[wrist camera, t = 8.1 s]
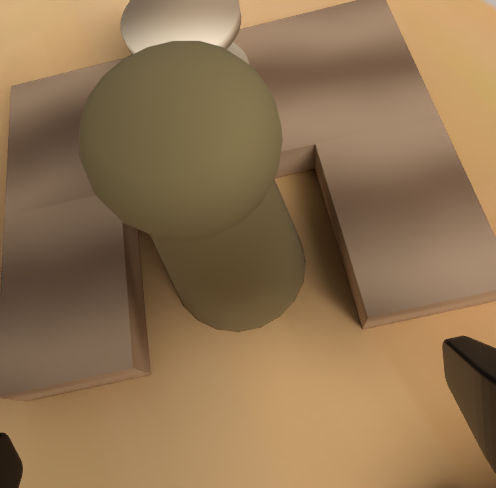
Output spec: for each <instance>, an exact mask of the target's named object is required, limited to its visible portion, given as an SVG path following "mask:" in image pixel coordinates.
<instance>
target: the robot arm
mask: <svg viewBox="0 0 496 488" xmlns="http://www.w3.org/2000/svg"><path fill="white" fill-rule="evenodd" d="M442 349H443V360H444V371H445V378H446V381H447V384H448V386H449V389H450V390H451V392H452V394H453V396H454V398H455V400H456V402H457V404H458V406H459V408H460V410H461V412H462V414H463V416H464V418H465V420H466V421H467V423H468V425H469V427H470V429H471V431H472V433H473V435H474V437H475V439H476V441H477V443H478V445H479V447H480V448H481V450H482V452H483V454H484V456H485V458H486V459H487V461H488V462H489V464H490V466H491V467H492V469H493V470H494V472H495V473H496V348H494V347H492V346H489V345H487V344H484V343H482V342H479V341H477V340H474V339H472V338H469V337H466V336H459V337H454V338H450V339H446V340H444V342H443V345H442ZM22 473H23V465H22V461H21V459H20V457H19V455H18V453H17V451H16V450H15V448H14V446H13V444H12V442H11V440H10V438H9V437H8V435H6V434H5V433H0V488H19V485H20V481H21V478H22Z"/></svg>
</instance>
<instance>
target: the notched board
mask: <svg viewBox="0 0 496 488" xmlns="http://www.w3.org/2000/svg"><path fill="white" fill-rule="evenodd" d="M240 25H241V13H240V7H239V1H238V0H130V2H129V3H128V5H127V6H126V8H125V10H124V12H123V15H122V18H121V33H122V36H123V38H124V41H125V43H126V45H127V47H128V49H129V51H130V53H131V54H132V55H133V54H135V53H137V52H139V51H141V50H143V49H145V48H147V47H150V46H154V45H158V44H163V43H167V42H171V41H202V42H205V43H209V44H213V45H217V46H220V47H223V48H225V49H226V50H228V51H230V52H231V53H233V54H234V55H236V56H237V57H239V58H240V59H242V60H243V61H245V62H246V63H248V64H249V65H250V66H252V67H253V68H254V69H255V70H256V72H257V73H258V74H259V76H260V77H261V78H262V80H263V81H264V83H265V84H266V85H267V87H268V88H269V90H270V92H271V94H272V96H273V98H274V100H275V102H276V106H277V110H278V114H279V118H280V122H281V127H282V139H283V141H282V148H281V155H280V163H279V168H278V171H277V174H276V177H281V176H285V175H289V174H294V173H298V172H302V171H307V170H311V169H315V170H316V173H317V177H318V180H319V184H320V187H321V190H322V194H323V197H324V200H325V204H326V207H327V211H328V214H329V217H330V221H331V224H332V228H333V231H334V234H335V238H336V241H337V244H338V248H339V251H340V255H341V258H342V261H343V265H344V268H345V272H346V275H347V278H348V282H349V285H350V288H351V292H352V295H353V299H354V302H355V305H356V309H357V312H358V316H359V319H360V322H361V326H362V329H367V328H371V327H376V326H381V325H385V324H390V323H395V322H400V321H404V320H409V319H414V318H418V317H423V316H428V315H432V314H437V313H442V312H446V311H451V310H456V309H461V308H465V307H470V306H475V305H479V304H484V303H489V302H493V301H496V237H495V235H494V233H493V231H492V228H491V226H490V224H489V222H488V220H487V218H486V215H485V213H484V211H483V209H482V207H481V205H480V203H479V200H478V198H477V196H476V194H475V192H474V190H473V187H472V185H471V183H470V181H469V179H468V177H467V174H466V172H465V170H464V168H463V166H462V164H461V161H460V159H459V157H458V155H457V153H456V151H455V149H454V146H453V144H452V142H451V140H450V138H449V136H448V133H447V131H446V129H445V127H444V125H443V123H442V120H441V118H440V116H439V114H438V112H437V110H436V108H435V105H434V103H433V101H432V99H431V97H430V95H429V92H428V90H427V88H426V86H425V84H424V82H423V79H422V77H421V75H420V73H419V71H418V69H417V66H416V64H415V62H414V60H413V58H412V56H411V54H410V51H409V49H408V47H407V45H406V43H405V41H404V38H403V36H402V34H401V32H400V30H399V28H398V25H397V23H396V21H395V19H394V17H393V15H392V13H391V10H390V8H389V6H388V4H387V2H386V0H356V1H352V2H348V3H344V4H340V5H336V6H332V7H328V8H324V9H320V10H316V11H312V12H308V13H304V14H300V15H296V16H292V17H288V18H284V19H280V20H276V21H272V22H268V23H264V24H260V25H256V26H252V27H248V28H244V29H240ZM239 29H240V30H239ZM123 59H125V58H123ZM123 59H119V60H115V61H111V62H107V63H103V64H99V65H95V66H91V67H87V68H83V69H79V70H75V71H71V72H67V73H63V74H59V75H55V76H51V77H46V78H42V79H38V80H34V81H30V82H26V83H22V84H18V85H14V86H11V102H10V121H9V140H8V159H7V178H6V198H5V217H4V236H3V255H2V274H1V293H0V398H5V399H13V400H21V401H29V400H33V399H38V398H43V397H47V396H52V395H57V394H61V393H66V392H71V391H76V390H80V389H85V388H90V387H94V386H99V385H104V384H108V383H113V382H118V381H122V380H127V379H132V378H137V377H141V376H146V375H151V374H150V363H149V352H148V340H147V329H146V318H145V307H144V296H143V284H142V273H141V262H140V251H139V239H138V229H136V228H133V227H131V226H129V225H127V224H124V223H123V222H122V221H121V220H120V219H119V218H118V217H117V216H116V215H115V214H114V213H113V212H112V211H111V210H110V209H109V208H108V207H107V206H106V205H105V204H104V203H103V202H102V201H101V200H100V199H99V198H98V197H97V196H96V195H95V194H94V191H93V189H92V187H91V184H90V182H89V180H88V177H87V175H86V173H85V170H84V168H83V165H82V163H81V160H80V157H79V127H80V118H81V115H82V113H83V110H84V107H85V104H86V101H87V98H88V96H89V94H90V93H91V92H92V90H93V89H94V88H95V86H96V85H97V83H98V82H99V81H100V79H101V78H102V77H103V75H105V74H106V73H107V72H108V71H110V70H111V69H112V68H113V67H114V66H116V65H117V64H118V63H119V62H120V61H122V60H123ZM276 177H275V178H276Z"/></svg>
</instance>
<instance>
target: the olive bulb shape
mask: <svg viewBox="0 0 496 488" xmlns="http://www.w3.org/2000/svg"><path fill="white" fill-rule="evenodd" d="M282 141H283V139H282V127H281V122H280V118H279V114H278V110H277V106H276V102H275V100H274V98H273V96H272V94H271V92H270V90H269V88H268V87H267V85H266V84H265V83H264V81H263V80H262V78H261V77H260V76H259V74H258V73H257V72H256V70H255V69H254V68H253V67H252V66H250V65H249V64H248V63H246V62H245V61H243V60H242V59H240V58H239V57H237V56H236V55H234V54H233V53H231V52H230V51H228V50H226V49H225V48H223V47H220V46H217V45H213V44H209V43H205V42H202V41H171V42H167V43H163V44H158V45H154V46H150V47H147V48H145V49H143V50H141V51H139V52H137V53H135V54H133V55H131V56H129V57H127V58H125V59H123V60H122V61H120V62H119V63H118V64H117V65H116V66H114V67H113V68H112V69H111V70H110V71H108V72H107V73H106V74H105V75H103V77H102V78H101V79H100V81H99V82H98V83H97V85H96V86H95V88H94V89H93V90H92V92H91V93H90V94H89V96H88V98H87V101H86V104H85V107H84V110H83V113H82V115H81V118H80V127H79V157H80V160H81V163H82V165H83V168H84V170H85V173H86V175H87V177H88V180H89V182H90V184H91V187H92V189H93V191H94V194H95V195H96V196H97V197H98V198H99V199H100V200H101V201H102V202H103V203H104V204H105V205H106V206H107V207H108V208H109V209H110V210H111V211H112V212H113V213H114V214H115V215H116V216H117V217H118V218H119V219H120V220H121V221H122V222H123V223H124V224H127V225H129V226H131V227H133V228H136V229H138V230H140V231H143V232H145V233H147V234H150V236H151V238H152V240H153V243H154V245H155V247H156V249H157V251H158V253H159V255H160V257H161V259H162V261H163V264H164V266H165V268H166V270H167V272H168V274H169V276H170V278H171V280H172V283H173V285H174V287H175V289H176V291H177V293H178V295H179V297H180V299H181V302H182V304H183V306H184V307H185V308H186V309H187V310H188V311H189V312H190V313H191V314H192V315H193V316H194V317H195V318H196V319H197V320H198V321H201V322H203V323H205V324H207V325H209V326H211V327H213V328H215V329H219V330H228V331H236V332H240V331H245V330H250V329H255V328H260V327H262V326H264V325H265V324H267V323H269V322H271V321H273V320H274V319H276V318H278V317H280V316H281V315H282V313H283V312H284V311H285V310H286V309H287V308H288V307H289V306H290V305H291V304H292V303H293V302H294V301H295V299H296V296H297V294H298V292H299V290H300V288H301V286H302V283H303V281H304V271H305V262H306V261H305V257H304V252H303V248H302V244H301V241H300V238H299V236H298V234H297V231H296V229H295V227H294V224H293V222H292V220H291V217H290V215H289V213H288V210H287V208H286V206H285V203H284V201H283V198H282V196H281V194H280V191H279V189H278V187H277V184H276V182H275V180H274V179H275V177H276V174H277V171H278V168H279V163H280V155H281V148H282Z"/></svg>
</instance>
